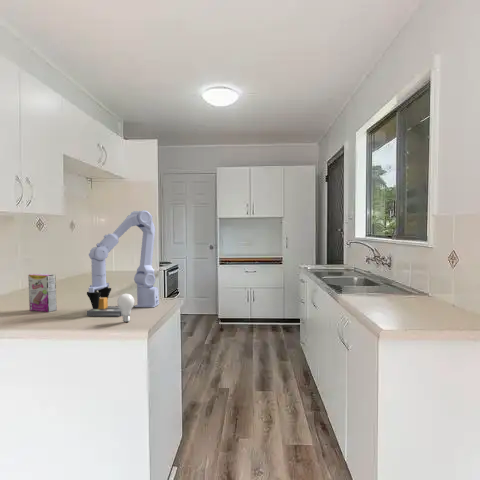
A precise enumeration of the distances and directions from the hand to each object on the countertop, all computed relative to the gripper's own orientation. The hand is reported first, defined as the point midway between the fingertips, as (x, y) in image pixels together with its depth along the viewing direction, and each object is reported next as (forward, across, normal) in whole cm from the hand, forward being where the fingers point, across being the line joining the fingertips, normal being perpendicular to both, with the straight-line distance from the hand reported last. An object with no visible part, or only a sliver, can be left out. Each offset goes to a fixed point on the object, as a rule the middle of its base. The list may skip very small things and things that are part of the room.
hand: (99, 306), depth 166 cm
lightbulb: (+3, +15, +18) cm, 24 cm away
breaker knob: (+1, 0, +1) cm, 1 cm away
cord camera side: (+3, +6, +5) cm, 8 cm away
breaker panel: (+3, 0, +4) cm, 5 cm away
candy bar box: (+3, -4, -29) cm, 29 cm away
